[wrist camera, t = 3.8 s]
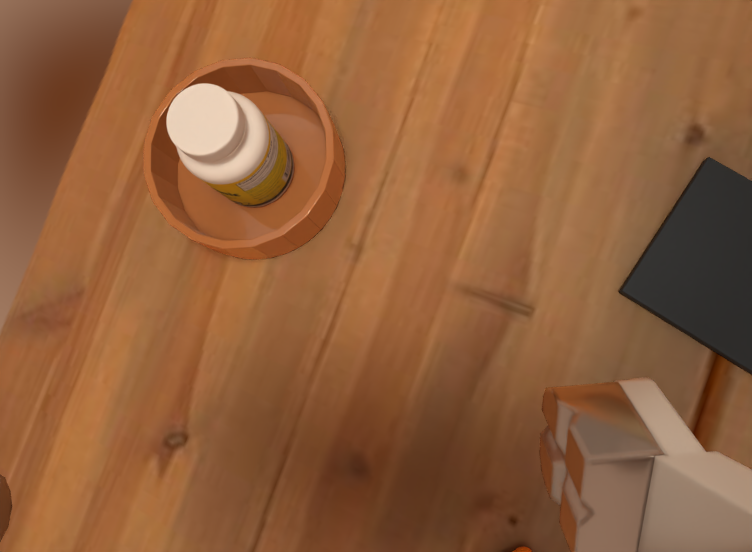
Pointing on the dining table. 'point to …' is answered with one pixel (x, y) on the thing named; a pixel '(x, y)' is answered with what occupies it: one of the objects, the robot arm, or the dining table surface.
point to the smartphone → (522, 549)
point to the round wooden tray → (228, 219)
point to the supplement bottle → (230, 145)
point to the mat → (703, 264)
